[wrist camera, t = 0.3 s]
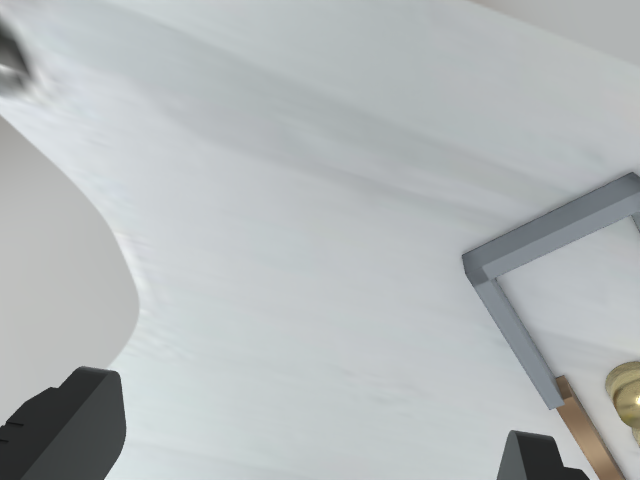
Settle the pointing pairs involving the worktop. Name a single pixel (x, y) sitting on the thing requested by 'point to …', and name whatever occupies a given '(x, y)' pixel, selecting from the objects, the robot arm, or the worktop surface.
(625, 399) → the gold domed cylinder
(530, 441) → the robot arm
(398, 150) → the worktop surface
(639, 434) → the gold short cylinder
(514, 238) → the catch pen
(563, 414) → the slot rails
